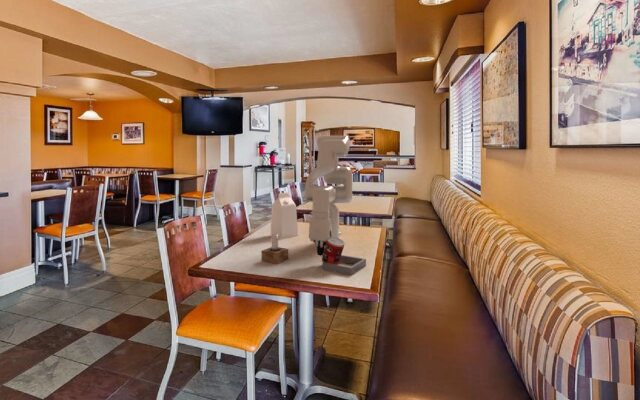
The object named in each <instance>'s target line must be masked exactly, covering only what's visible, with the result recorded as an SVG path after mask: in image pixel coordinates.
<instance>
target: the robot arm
mask: <svg viewBox="0 0 640 400" xmlns="http://www.w3.org/2000/svg"><path fill="white" fill-rule="evenodd" d="M316 146H317V148H318V153H317V160H316V167H315V168H314V169H313V170H311V171H310V173H309V174H308V175H307V178H306V180H305V186H304V197H305V200H306V201H308V202H310V203H311V202H312V211H310V215H311V216H312V217H310V220H309V227H308V238H309V241H310V242H312V243H314V244H315V246H316V253H317V256H320V257H322V255H323V252H324V248H325V245H326V242H327V240H328V239H330V238H331V237H336V238H339V239H341V240H343V239H342V238H340V236H341V235H342V232H341V231H340V210H339V207H338V206H337V205H336V204H349V203H351V202H352V199H353V172H352V169H351V168H350V167H349V166H340V165H339V157H341V158H343V157H346V156H347V155H348V153H349V150H350V146H351V141H350V138H349V137H348V136H347V135H321V136H318V137H317V139H316ZM320 178H323V181H324V183H325V184H329V185H313V183H314V182H316V180H318V179H320ZM330 184H331V185H330ZM334 184H335V185H334Z"/></svg>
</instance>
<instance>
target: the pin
mask: <svg viewBox="0 0 640 400" xmlns="http://www.w3.org/2000/svg"><path fill="white" fill-rule="evenodd" d="M270 237H271V247H272V251H275V252H276V251H278V247H279V238H278V235H276V234H274V235H271V236H270Z"/></svg>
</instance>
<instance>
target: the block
mask: <svg viewBox="0 0 640 400" xmlns="http://www.w3.org/2000/svg"><path fill="white" fill-rule="evenodd" d="M260 252H261V254H260V255H261V262H265V263H271V264H274V265H278V264H281V263H283V262H285V261H287V260H289V259H290V257H289V248H287V247H286V248H284V247H280V246H278V251H276V252H275V251H272V246H270V247H267V248H264V249H263V250H261V251H260Z"/></svg>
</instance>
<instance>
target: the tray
mask: <svg viewBox="0 0 640 400" xmlns="http://www.w3.org/2000/svg"><path fill="white" fill-rule="evenodd" d="M339 263H346V264H350V265H351V264H352V265H351V266H347V265H341V264H338V265H336V264H331V263H325V262H322V266H321V267H322V268H321V269H322V271H323V270H324V271H329V272H334V273H339V274H343V275H344V274H345V275H349V276H352V275H354V274H355V273H357V272H358V271H360V270H361V269H363V268H364V267H366V266H367V259H366V258H363V257H362V258H361V257H356V256H351V255H350V256H349V255H343V254H341V257H340V260H339Z"/></svg>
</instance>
